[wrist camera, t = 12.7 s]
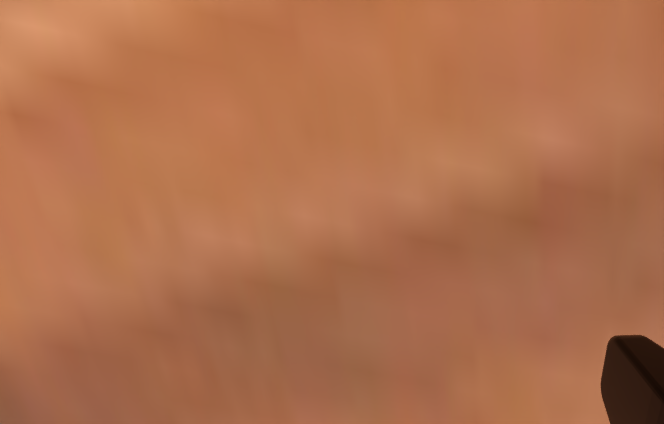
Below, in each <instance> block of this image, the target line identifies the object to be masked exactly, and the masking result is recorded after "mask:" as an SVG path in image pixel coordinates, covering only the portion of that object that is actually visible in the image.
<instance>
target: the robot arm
mask: <svg viewBox="0 0 664 424" xmlns="http://www.w3.org/2000/svg"><path fill="white" fill-rule="evenodd" d="M601 393H602V398H603V402H604V405H605V408H606V411H607V415H608V418H609V421H610V424H664V348H663V347H661V346H659V345H658V344H656V343H655V342H653V341H652V340H650V339H649V338H647V337H645V336H642V335H620V336H614V337H612V338H611V339H610V340H609V342H608V345H607V350H606V355H605V361H604V367H603V372H602V378H601Z"/></svg>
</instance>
